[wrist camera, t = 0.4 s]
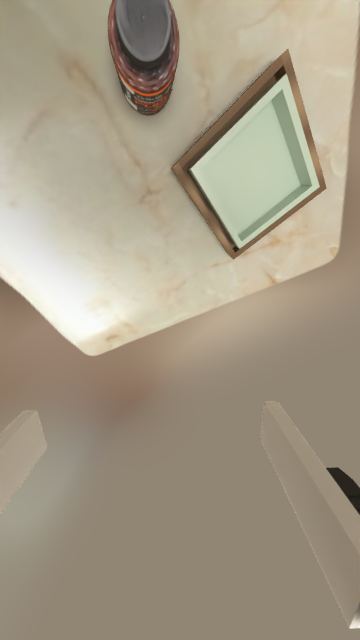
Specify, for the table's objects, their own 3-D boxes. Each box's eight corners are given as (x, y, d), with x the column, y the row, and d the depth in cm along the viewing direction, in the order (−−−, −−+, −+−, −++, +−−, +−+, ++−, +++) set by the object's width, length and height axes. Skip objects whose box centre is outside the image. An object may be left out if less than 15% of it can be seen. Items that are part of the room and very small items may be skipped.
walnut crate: (171, 168, 28) (173, 167, 26) (274, 61, 24) (288, 48, 21) (228, 254, 36) (233, 259, 34) (313, 187, 32) (326, 188, 29)
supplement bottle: (137, 126, 26) (128, 97, 16) (109, 58, 22) (78, -28, 13) (179, 101, 25) (195, 55, 15) (157, 26, 21) (161, -90, 12)
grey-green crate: (186, 170, 28) (190, 168, 25) (270, 85, 24) (286, 73, 21) (232, 243, 35) (239, 248, 32) (304, 186, 31) (319, 186, 28)
